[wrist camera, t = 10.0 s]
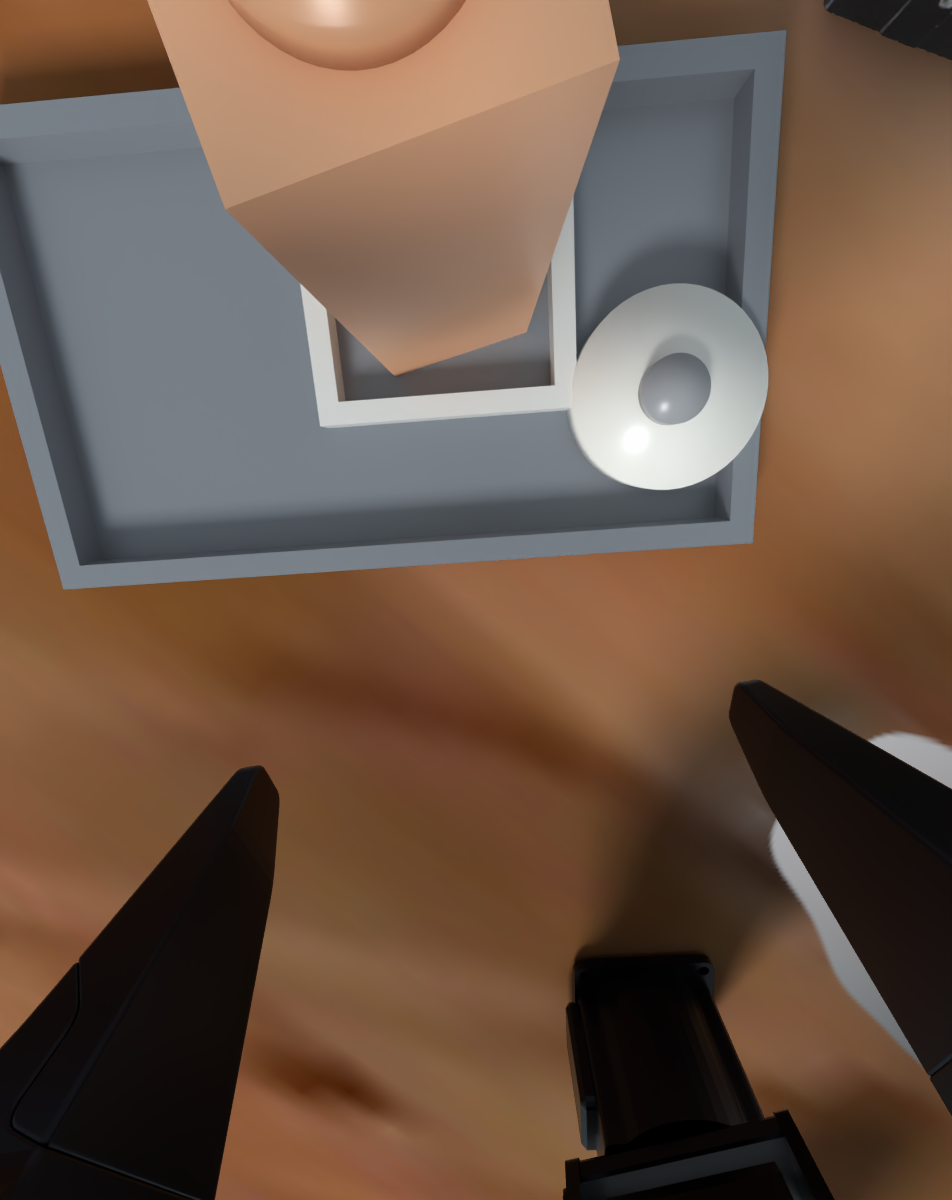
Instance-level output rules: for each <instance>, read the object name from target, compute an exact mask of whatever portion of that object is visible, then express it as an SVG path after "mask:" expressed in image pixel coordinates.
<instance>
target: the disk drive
mask: <svg viewBox="0 0 952 1200" xmlns="http://www.w3.org/2000/svg"><path fill="white" fill-rule="evenodd" d="M824 7H825V9H826V10H827V11H829V12H830V13H834V14H836V15H838V16H842V17H844V18H846V19H849V20H851V21H853V22H858V23H859V24H861V25H863V26H866V27H868V28H871V29H873V30H877V31H879V32H880V33H881V35H883V36H885V37H887V38H890V39H893V40H897V41H899V42H900V43H903V44H905V45H907V46H911V47H919V48H922V49H925V50H926V51H928V52H932V53H935V54H937V55H939V56H943V57H945V58H947V59H950V60H952V0H824Z"/></svg>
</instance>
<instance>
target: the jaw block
mask: <svg viewBox="0 0 952 1200" xmlns="http://www.w3.org/2000/svg"><path fill="white" fill-rule="evenodd" d="M148 3H149V6H150V9H151V11H152V14H153V17H154V19H155V22H156V25H157V27H158V30H159V33H160V35H161V38H162V41H163V44H164V46H165V49H166V52H167V54H168V57H169V60H170V62H171V65H172V68H173V70H174V73H175V76H176V78H177V81H178V84H179V87H180V89H181V92H182V95H183V97H184V100H185V103H186V105H187V108H188V111H189V113H190V116H191V119H192V121H193V124H194V127H195V130H196V132H197V135H198V138H199V140H200V143H201V146H202V148H203V151H204V154H205V156H206V159H207V162H208V165H209V167H210V170H211V173H212V175H213V178H214V181H215V183H216V186H217V189H218V191H219V194H220V197H221V199H222V202H223V205H224V208H225V210H226V211H227V212H228V213H229V214H230V215H231V216H233V217H234V218H235V219H236V220H237V221H238V222H239V223H240V224H241V225H242V226H243V227H244V228H245V229H246V230H247V231H248V232H249V233H250V234H251V235H252V236H253V237H254V238H255V239H256V240H257V241H258V242H259V243H260V244H261V245H262V246H263V247H264V248H265V249H266V250H267V251H268V252H269V253H270V254H271V255H272V256H273V257H274V258H275V259H276V260H277V261H278V262H279V263H280V264H281V265H282V266H283V267H284V268H285V269H286V270H287V271H288V272H289V273H290V274H291V275H292V276H293V277H294V278H295V279H296V280H297V281H298V282H299V283H300V284H301V285H303V286H304V287H305V288H306V289H307V290H308V291H309V292H310V293H311V294H312V295H313V296H314V297H315V298H316V299H317V300H318V301H319V302H320V303H321V304H322V305H323V306H324V307H325V308H326V309H327V310H328V311H329V312H330V313H331V314H332V315H333V316H334V317H335V318H336V319H337V320H338V321H339V322H340V323H341V324H342V325H343V326H344V327H345V328H346V329H347V330H348V331H349V332H350V333H351V334H352V335H353V336H354V337H355V338H356V339H357V340H358V341H359V342H360V343H361V344H362V345H363V346H364V347H365V348H366V349H367V350H368V351H369V352H370V353H371V354H373V355H374V356H375V357H376V358H377V359H378V360H379V361H380V362H381V363H382V364H383V365H384V366H385V367H386V368H387V369H388V370H389V371H390V372H391V373H392V374H393V375H394V376H395V377H396V376H399V375H402V374H405V373H408V372H411V371H414V370H417V369H420V368H422V367H425V366H428V365H431V364H434V363H437V362H440V361H443V360H446V359H449V358H452V357H455V356H458V355H461V354H464V353H467V352H470V351H473V350H476V349H479V348H482V347H485V346H487V345H490V344H493V343H496V342H499V341H502V340H505V339H508V338H511V337H514V336H517V335H520V334H523V333H526V332H527V329H528V326H529V324H530V321H531V318H532V315H533V312H534V309H535V306H536V303H537V300H538V297H539V294H540V291H541V288H542V286H543V283H544V280H545V277H546V274H547V271H548V268H549V265H550V262H551V259H552V256H553V253H554V251H555V248H556V245H557V242H558V239H559V236H560V233H561V230H562V227H563V224H564V221H565V218H566V216H567V213H568V210H569V207H570V204H571V201H572V198H573V195H574V192H575V189H576V186H577V183H578V180H579V178H580V175H581V172H582V169H583V166H584V163H585V160H586V157H587V154H588V151H589V148H590V145H591V143H592V140H593V137H594V134H595V131H596V128H597V125H598V122H599V119H600V116H601V113H602V110H603V108H604V105H605V102H606V99H607V96H608V93H609V90H610V87H611V84H612V81H613V78H614V75H615V73H616V70H617V67H618V64H619V61H620V57H619V52H618V47H617V42H616V36H615V31H614V26H613V21H612V16H611V11H610V5H609V0H148Z"/></svg>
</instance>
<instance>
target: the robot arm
mask: <svg viewBox="0 0 952 1200" xmlns="http://www.w3.org/2000/svg"><path fill="white" fill-rule="evenodd" d="M729 719H730V723H731V725H732V728H733V730H734V732H735V734H736V737H737V739H738V741H739V743H740V745H741V748H742V750H743V752H744V754H745V756H746V759H747V761H748V763H749V765H750V767H751V770H752V772H753V774H754V776H755V778H756V781H757V783H758V785H759V787H760V789H761V791H762V793H763V795H764V797H765V799H766V801H767V803H768V805H769V806H770V808H771V810H772V812H773V813H774V815H775V817H776V818H777V820H778V822H779V824H780V825H781V827H782V829H783V830H784V832H785V834H786V835H787V837H788V839H789V840H790V842H791V844H792V845H793V847H794V849H795V851H796V852H797V854H798V856H799V857H800V859H801V861H802V862H803V864H804V866H805V868H806V869H807V871H808V873H809V874H810V876H811V878H812V879H813V881H814V883H815V884H816V886H817V888H818V890H819V891H820V893H821V895H822V896H823V898H824V900H825V901H826V903H827V905H828V906H829V908H830V910H831V912H832V913H833V915H834V917H835V918H836V920H837V922H838V923H839V925H840V927H841V929H842V930H843V932H844V933H845V935H846V937H847V939H848V940H849V942H850V944H851V945H852V947H853V949H854V950H855V952H856V954H857V956H858V957H859V959H860V961H861V962H862V964H863V966H864V967H865V969H866V971H867V973H868V974H869V976H870V978H871V979H872V981H873V983H874V984H875V986H876V988H877V989H878V991H879V993H880V995H881V996H882V998H883V1000H884V1001H885V1003H886V1005H887V1006H888V1008H889V1010H890V1011H891V1013H892V1015H893V1017H894V1018H895V1020H896V1022H897V1023H898V1025H899V1027H900V1028H901V1030H902V1032H903V1034H904V1035H905V1037H906V1039H907V1040H908V1042H909V1044H910V1045H911V1047H912V1049H913V1050H914V1052H915V1054H916V1055H917V1057H918V1059H919V1061H920V1062H921V1064H922V1066H923V1067H924V1069H925V1071H926V1072H927V1074H928V1075H930V1076H931V1077H930V1080H931V1082H932V1083H933V1085H934V1087H935V1088H936V1090H937V1092H938V1093H939V1095H940V1097H941V1099H942V1100H943V1102H944V1104H945V1105H946V1107H947V1109H948V1110H949V1112H950V1114H951V1115H952V789H951V788H949V787H947V786H945V785H944V784H942V783H940V782H938V781H937V780H935V779H933V778H931V777H930V776H928V775H926V774H924V773H923V772H921V771H919V770H918V769H916V768H914V767H912V766H910V765H909V764H907V763H905V762H903V761H902V760H900V759H898V758H896V757H895V756H893V755H891V754H889V753H888V752H886V751H884V750H882V749H881V748H879V747H877V746H875V745H873V744H872V743H870V742H868V741H867V740H865V739H863V738H861V737H860V736H858V735H856V734H854V733H853V732H851V731H849V730H847V729H845V728H844V727H842V726H840V725H838V724H837V723H835V722H833V721H831V720H830V719H828V718H826V717H824V716H823V715H821V714H819V713H817V712H816V711H814V710H812V709H810V708H809V707H807V706H805V705H803V704H802V703H800V702H798V701H796V700H795V699H793V698H791V697H789V696H788V695H786V694H784V693H782V692H781V691H779V690H777V689H775V688H773V687H772V686H770V685H768V684H766V683H765V682H763V681H760V680H750V681H744V682H739V683H737V684H736V685H735V687H734V691H733V695H732V700H731V705H730V710H729ZM278 816H279V794H278V791H277V789H276V787H275V785H274V784H273V782H272V780H271V778H270V777H269V775H268V773H267V772H266V770H265V769H264V767H262V766H259V765H257V766H252V767H246V768H241V769H239V770H238V771H237V772H236V773H235V774H234V775H233V776H232V777H231V778H230V780H229V781H228V782H227V783H226V784H225V786H224V787H223V788H222V789H221V790H220V791H219V793H218V794H217V795H216V796H215V797H214V799H213V800H212V801H211V802H210V803H209V805H208V806H207V807H206V808H205V809H204V810H203V812H202V813H201V814H200V815H199V816H198V818H197V819H196V820H195V821H194V822H193V824H192V825H191V826H190V827H189V828H188V829H187V831H186V832H185V833H184V834H183V835H182V837H181V838H180V839H179V840H178V841H177V843H176V844H175V845H174V846H173V847H172V848H171V850H170V851H169V852H168V853H167V854H166V856H165V857H164V858H163V859H162V860H161V862H160V863H159V864H158V865H157V866H156V867H155V869H154V870H153V871H152V872H151V873H150V875H149V876H148V877H147V878H146V879H145V881H144V882H143V883H142V884H141V885H140V886H139V888H138V889H137V890H136V891H135V892H134V894H133V895H132V896H131V897H130V898H129V900H128V901H127V902H126V903H125V904H124V905H123V907H122V908H121V909H120V910H119V911H118V913H117V914H116V915H115V916H114V917H113V919H112V920H111V921H110V922H109V923H108V924H107V926H106V927H105V928H104V929H103V930H102V932H101V933H100V934H99V935H98V936H97V938H96V939H95V940H94V941H93V942H92V943H91V945H90V946H89V947H88V948H87V949H86V951H85V952H84V953H83V954H82V955H81V957H80V958H79V963H75V964H74V965H73V966H72V967H71V968H70V969H69V971H68V972H67V973H66V974H65V975H64V976H63V978H62V979H61V980H60V981H59V982H58V984H57V985H56V986H55V987H54V988H53V989H52V991H51V992H50V993H49V994H48V995H47V996H46V998H45V999H44V1000H43V1001H42V1002H41V1003H40V1004H39V1006H38V1007H37V1008H36V1009H35V1010H34V1011H33V1013H32V1014H31V1015H30V1016H29V1017H28V1018H27V1019H26V1021H25V1022H24V1023H23V1024H22V1025H21V1026H20V1027H19V1029H18V1030H17V1031H16V1032H15V1033H14V1034H13V1035H12V1036H11V1037H10V1038H9V1039H8V1041H7V1042H6V1043H5V1044H4V1045H3V1046H2V1047H1V1048H0V1200H215V1196H216V1190H217V1185H218V1180H219V1174H220V1169H221V1163H222V1158H223V1153H224V1147H225V1142H226V1136H227V1131H228V1126H229V1120H230V1115H231V1110H232V1104H233V1099H234V1093H235V1088H236V1083H237V1077H238V1072H239V1066H240V1061H241V1056H242V1050H243V1045H244V1040H245V1034H246V1029H247V1023H248V1018H249V1013H250V1007H251V1002H252V996H253V991H254V986H255V980H256V975H257V970H258V964H259V959H260V953H261V948H262V943H263V937H264V932H265V927H266V921H267V916H268V910H269V905H270V900H271V894H272V887H273V879H274V869H275V856H276V843H277V829H278ZM713 987H714V967H713V964H712V962H711V960H710V959H709V957H707V956H705V955H681V956H659V957H637V958H615V959H593V960H580V961H578V962H576V963H575V964H574V965H573V994H574V1002H569V1004H568V1005H567V1007H566V1032H567V1048H568V1055H569V1062H570V1069H571V1076H572V1083H573V1090H574V1096H575V1103H576V1110H577V1117H578V1124H579V1131H580V1138H581V1143H582V1145H583V1146H584V1147H585V1148H586V1150H597V1155H598V1157H594V1158H590V1159H586V1160H581V1161H580V1159H579V1158H575V1159H571V1160H566V1161H565V1172H566V1188H565V1189H563V1200H834V1198H833V1196H832V1194H831V1192H830V1190H829V1188H828V1186H827V1184H826V1183H825V1181H824V1179H823V1177H822V1175H821V1173H820V1171H819V1169H818V1167H817V1165H816V1163H815V1161H814V1159H813V1158H812V1156H811V1154H810V1152H809V1150H808V1148H807V1146H806V1144H805V1142H804V1140H803V1138H802V1136H801V1134H800V1132H799V1131H798V1129H797V1127H796V1125H795V1123H794V1121H793V1119H792V1117H791V1115H790V1113H789V1111H788V1110H782V1111H778V1112H774V1113H773V1114H774V1116H772V1117H767V1118H764V1116H763V1113H762V1111H761V1109H760V1106H759V1104H758V1102H757V1099H756V1097H755V1095H754V1092H753V1090H752V1088H751V1085H750V1083H749V1081H748V1078H747V1076H746V1074H745V1071H744V1069H743V1067H742V1065H741V1062H740V1060H739V1058H738V1055H737V1053H736V1051H735V1048H734V1046H733V1044H732V1041H731V1039H730V1037H729V1034H728V1032H727V1030H726V1027H725V1025H724V1023H723V1020H722V1018H721V1016H720V1013H719V1011H718V1009H717V1007H716V1004H715V1002H714V1000H713Z"/></svg>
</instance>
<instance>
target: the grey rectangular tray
mask: <svg viewBox="0 0 952 1200" xmlns="http://www.w3.org/2000/svg"><path fill="white" fill-rule="evenodd" d="M786 31H787V30H780V31H770V32H759V33H749V34H738V35H728V36H717V37H707V38H696V39H686V40H675V41H665V42H654V43H644V44H633V45H623V46H617V47H618V52H619V57H620V61H619V64H618V67H617V70H616V73H615V75H614V78H613V81H612V84H611V87H610V90H609V93H608V96H607V99H606V102H605V105H604V108H603V110H602V113H601V116H600V119H599V122H598V125H597V128H596V131H595V134H594V137H593V140H592V143H591V145H590V148H589V151H588V154H587V157H586V160H585V163H584V166H583V169H582V172H581V175H580V178H579V180H578V183H577V186H576V189H575V192H574V195H573V198H572V201H571V204H570V207H569V210H568V213H567V216H566V218H565V221H564V224H563V227H562V230H561V233H560V236H559V239H558V242H557V245H556V248H555V251H554V253H553V256H552V259H551V262H550V265H549V268H548V271H547V274H546V277H545V280H544V283H543V286H542V288H541V291H540V294H539V297H538V300H537V303H536V306H535V309H534V312H533V315H532V318H531V321H530V324H529V326H528V329H527V332H526V333H523V334H520V335H517V336H514V337H511V338H508V339H505V340H502V341H499V342H496V343H493V344H490V345H487V346H485V347H482V348H479V349H476V350H473V351H470V352H467V353H464V354H461V355H458V356H455V357H452V358H449V359H446V360H443V361H440V362H437V363H434V364H431V365H428V366H425V367H422V368H420V369H417V370H414V371H411V372H408V373H405V374H402V375H399V376H396V377H395V376H394V375H393V374H392V373H391V372H390V371H389V370H388V369H387V368H386V367H385V366H384V365H383V364H382V363H381V362H380V361H379V360H378V359H377V358H376V357H375V356H374V355H373V354H371V353H370V352H369V351H368V350H367V349H366V348H365V347H364V346H363V345H362V344H361V343H360V342H359V341H358V340H357V339H356V338H355V337H354V336H353V335H352V334H351V333H350V332H349V331H348V330H347V329H346V328H345V327H344V326H343V325H342V324H341V323H340V322H339V321H338V320H337V319H336V318H335V317H334V316H333V315H332V314H331V313H330V312H329V311H328V310H327V309H326V308H325V307H324V306H323V305H322V304H321V303H320V302H319V301H318V300H317V299H316V298H315V297H314V296H313V295H312V294H311V293H310V292H309V291H308V290H307V289H306V288H305V287H304V286H303V285H301V284H300V283H299V282H298V281H297V280H296V279H295V278H294V277H293V276H292V275H291V274H290V273H289V272H288V271H287V270H286V269H285V268H284V267H283V266H282V265H281V264H280V263H279V262H278V261H277V260H276V259H275V258H274V257H273V256H272V255H271V254H270V253H269V252H268V251H267V250H266V249H265V248H264V247H263V246H262V245H261V244H260V243H259V242H258V241H257V240H256V239H255V238H254V237H253V236H252V235H251V234H250V233H249V232H248V231H247V230H246V229H245V228H244V227H243V226H242V225H241V224H240V223H239V222H238V221H237V220H236V219H235V218H234V217H233V216H231V215H230V214H229V213H228V212H227V211H226V210H225V208H224V205H223V202H222V199H221V197H220V194H219V191H218V189H217V186H216V183H215V181H214V178H213V175H212V173H211V170H210V167H209V165H208V162H207V159H206V156H205V154H204V151H203V148H202V146H201V143H200V140H199V138H198V135H197V132H196V130H195V127H194V124H193V121H192V119H191V116H190V113H189V111H188V108H187V105H186V103H185V100H184V97H183V95H182V92H181V89H180V88H171V89H161V90H150V91H140V92H129V93H119V94H108V95H98V96H87V97H77V98H66V99H56V100H45V101H35V102H24V103H14V104H3V105H0V365H1V369H2V372H3V376H4V379H5V383H6V386H7V390H8V394H9V397H10V401H11V404H12V408H13V411H14V415H15V418H16V422H17V426H18V429H19V433H20V436H21V440H22V443H23V447H24V450H25V454H26V458H27V461H28V465H29V468H30V472H31V475H32V479H33V482H34V486H35V490H36V493H37V497H38V500H39V504H40V507H41V511H42V514H43V518H44V522H45V525H46V529H47V532H48V536H49V539H50V543H51V546H52V550H53V554H54V557H55V561H56V564H57V568H58V571H59V575H60V578H61V582H62V586H63V589H78V588H93V587H108V586H123V585H138V584H153V583H167V582H182V581H197V580H212V579H227V578H242V577H256V576H271V575H286V574H301V573H316V572H330V571H345V570H360V569H375V568H390V567H405V566H419V565H434V564H449V563H464V562H479V561H494V560H508V559H523V558H538V557H553V556H568V555H583V554H597V553H612V552H627V551H642V550H657V549H672V548H686V547H701V546H716V545H731V544H746V543H753V532H754V516H755V501H756V486H757V471H758V456H759V441H760V425H761V415H762V412H763V409H764V405H765V401H766V397H767V390H768V364H767V356H766V353H765V350H766V335H767V319H768V304H769V289H770V274H771V259H772V244H773V228H774V213H775V198H776V183H777V168H778V153H779V138H780V122H781V107H782V92H783V77H784V62H785V47H786Z"/></svg>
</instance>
